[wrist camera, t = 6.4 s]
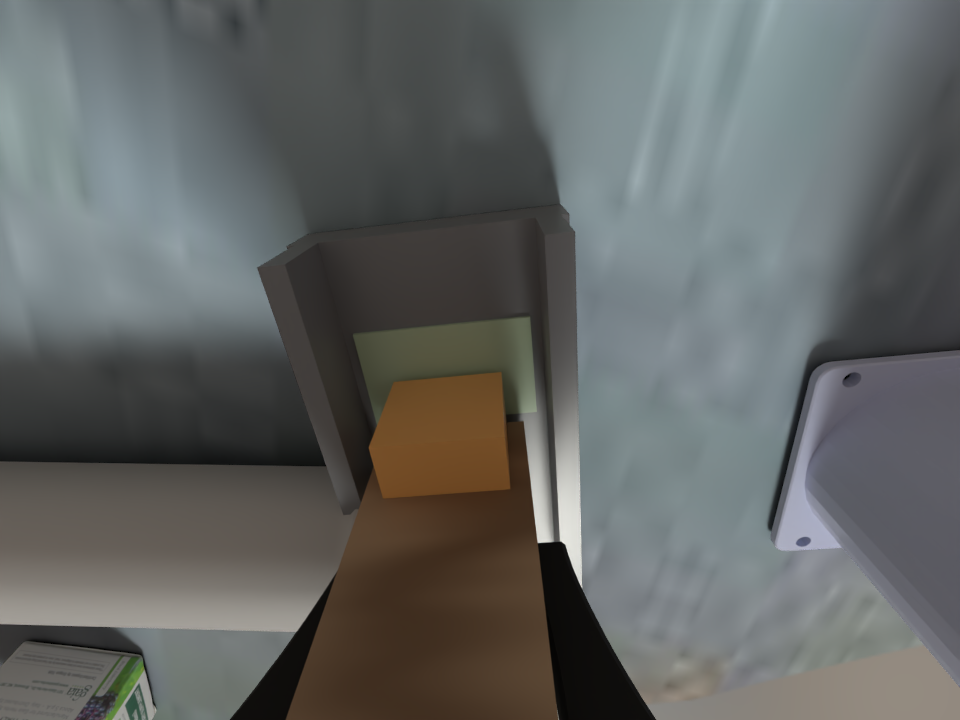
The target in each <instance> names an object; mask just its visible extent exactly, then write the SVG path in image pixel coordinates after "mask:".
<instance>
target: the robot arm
mask: <svg viewBox="0 0 960 720" xmlns="http://www.w3.org/2000/svg"><path fill="white" fill-rule="evenodd" d="M850 373H851V375H850V377H848V378H847V379H846V380H843V379H844V378H845V376H847V375H848V374H850ZM771 541H772V542H773V544H774V545H775V547H776V548H777V549H779V550H782V551H795V550H812V549H828V548H843V549H844V550H845V552H846V553H847V554H848V555H849V556H850V558H851V559H852V560H853V561H854V562H855V564H856V565H857V566H858V567H859V568H860V569H861V571H862V572H863V573H864V574H865V575H866V577H867V578H868V579H869V580H870V581H871V583H872V584H873V585H874V586H875V587H876V589H877V590H878V591H879V592H880V593H881V594H882V596H883V597H884V598H885V599H886V600H887V602H888V603H889V604H890V605H891V606H892V608H893V609H894V610H895V611H896V612H897V613H898V615H899V616H900V617H901V618H902V619H903V621H904V622H905V623H906V624H907V625H908V627H909V628H910V629H911V630H912V631H913V632H914V634H915V635H916V636H917V637H918V638H919V640H920V641H921V642H922V643H923V644H924V646H925V647H926V648H927V649H928V650H929V651H930V653H931V654H932V655H933V656H934V657H935V659H936V660H937V661H938V662H939V663H940V665H941V666H942V667H943V668H944V669H945V670H946V672H947V673H948V674H949V675H950V676H951V677H952V679H953V680H954V681H955V682H956V684H957V685H958V686H959V687H960V350H956V351H944V352H933V353H922V354H911V355H900V356H889V357H877V358H866V359H855V360H844V361H833V362H827V363H824V364H822V365H820V366H818V367H817V368H816V369H815V370H814V371H813V372H812V375H811V377H810V380H809V384H808V388H807V392H806V396H805V400H804V404H803V408H802V412H801V416H800V420H799V424H798V428H797V432H796V436H795V440H794V444H793V448H792V452H791V456H790V460H789V464H788V468H787V472H786V476H785V480H784V484H783V488H782V492H781V496H780V500H779V504H778V508H777V512H776V516H775V520H774V524H773V528H772V532H771ZM538 550H539V559H540V567H541V576H542V585H543V593H544V602H545V611H546V619H547V628H548V637H549V645H550V654H551V663H552V672H553V680H554V689H555V698H556V705H557V710H558V715H559V720H656V719H655V717H654V716H653V714H652V713H651V711H650V710H649V708H648V707H647V705H646V704H645V702H644V700H643V699H642V697H641V696H640V694H639V692H638V691H637V689H636V688H635V686H634V684H633V683H632V681H631V679H630V678H629V676H628V674H627V673H626V671H625V669H624V668H623V666H622V664H621V662H620V661H619V659H618V657H617V656H616V654H615V652H614V650H613V649H612V647H611V645H610V643H609V641H608V640H607V638H606V636H605V634H604V632H603V630H602V628H601V626H600V624H599V622H598V620H597V619H596V617H595V615H594V613H593V611H592V609H591V607H590V605H589V603H588V601H587V599H586V596H585V594H584V592H583V590H582V588H581V585H580V583H579V581H578V579H577V576H576V574H575V571H574V569H573V566H572V564H571V561H570V558H569V555H568V552H567V548H566V545H565V544H564V543H562V542H561V541H560V542H545V543H538ZM336 574H337V572H336ZM336 574H335V575H334V577H333V578H332V580H331V582H330V583H329V585H328V586H327V588H326V589H325V591H324V592H323V594H322V595H321V597H320V598H319V600H318V601H317V603H316V604H315V606H314V607H313V609H312V610H311V612H310V613H309V615H308V616H307V618H306V619H305V621H304V622H303V623H302V625H301V626H300V628H299V629H298V631H297V632H296V633H295V635H294V636H293V638H292V639H291V641H290V642H289V643H288V645H287V646H286V648H285V649H284V650H283V652H282V653H281V655H280V656H279V657H278V659H277V660H276V661H275V662H274V664H273V665H272V666H271V668H270V669H269V670H268V672H267V673H266V674H265V676H264V677H263V678H262V680H261V681H260V682H259V684H258V685H257V686H256V688H255V689H254V690H253V692H252V693H251V694H250V695H249V697H248V698H247V699H246V700H245V702H244V703H243V704H242V705H241V707H240V708H239V709H238V710H237V711H236V713H235V714H234V715H233V716H232V718H231V719H230V720H286V717H287V715H288V712H289V709H290V706H291V703H292V700H293V697H294V694H295V692H296V689H297V686H298V683H299V680H300V677H301V674H302V671H303V669H304V666H305V663H306V660H307V657H308V654H309V651H310V648H311V646H312V643H313V640H314V637H315V634H316V631H317V628H318V625H319V622H320V620H321V617H322V614H323V611H324V608H325V605H326V602H327V599H328V597H329V594H330V591H331V588H332V585H333V582H334V579H335V576H336Z"/></svg>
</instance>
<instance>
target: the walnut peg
mask: <svg viewBox="0 0 960 720" xmlns="http://www.w3.org/2000/svg"><path fill="white" fill-rule="evenodd" d="M507 438H508V456H509V474H510V489H507V490H494V491H480V492H467V493H453V494H440V495H426V496H413V497H399V498H386V499H383V497H382V493H381V490H380V486H379V483H378V479H377V476H376V472H375V469H374V467H373V470H372V473H371V476H370V479H369V481H368V484H367V487H366V490H365V493H364V496H363V499H362V502H361V504H360V507H359V510H358V513H357V516H356V519H355V522H354V525H353V527H352V530H351V533H350V536H349V539H348V542H347V545H346V548H345V550H344V553H343V556H342V559H341V562H340V565H339V568H338V571H337V574H336V576H335V579H334V582H333V585H332V588H331V591H330V594H329V597H328V599H327V602H326V605H325V608H324V611H323V614H322V617H321V620H320V622H319V625H318V628H317V631H316V634H315V637H314V640H313V643H312V646H311V648H310V651H309V654H308V657H307V660H306V663H305V666H304V669H303V671H302V674H301V677H300V680H299V683H298V686H297V689H296V692H295V694H294V697H293V700H292V703H291V706H290V709H289V712H288V715H287V717H286V720H558V715H557V706H556V698H555V689H554V680H553V672H552V663H551V654H550V645H549V637H548V628H547V619H546V611H545V602H544V593H543V585H542V576H541V567H540V559H539V550H538V541H537V533H536V524H535V515H534V507H533V498H532V489H531V480H530V472H529V463H528V454H527V446H526V437H525V428H524V421H519V422H508V423H507Z"/></svg>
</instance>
